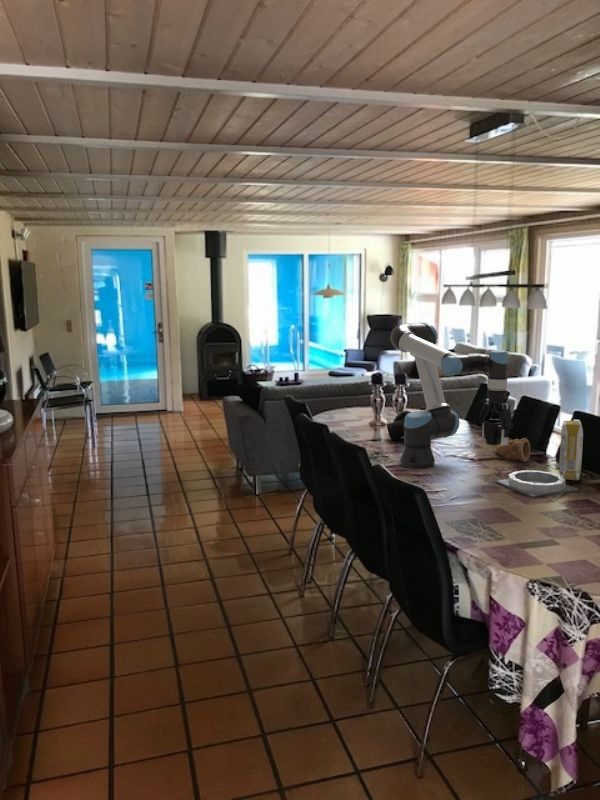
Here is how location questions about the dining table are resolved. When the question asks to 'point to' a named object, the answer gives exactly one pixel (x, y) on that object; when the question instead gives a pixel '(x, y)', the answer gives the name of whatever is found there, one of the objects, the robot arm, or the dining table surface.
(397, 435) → the valve
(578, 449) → the juice carton
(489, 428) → the mug
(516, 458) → the clay pipe
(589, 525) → the dining table surface
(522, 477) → the duct collar
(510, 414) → the robot arm
